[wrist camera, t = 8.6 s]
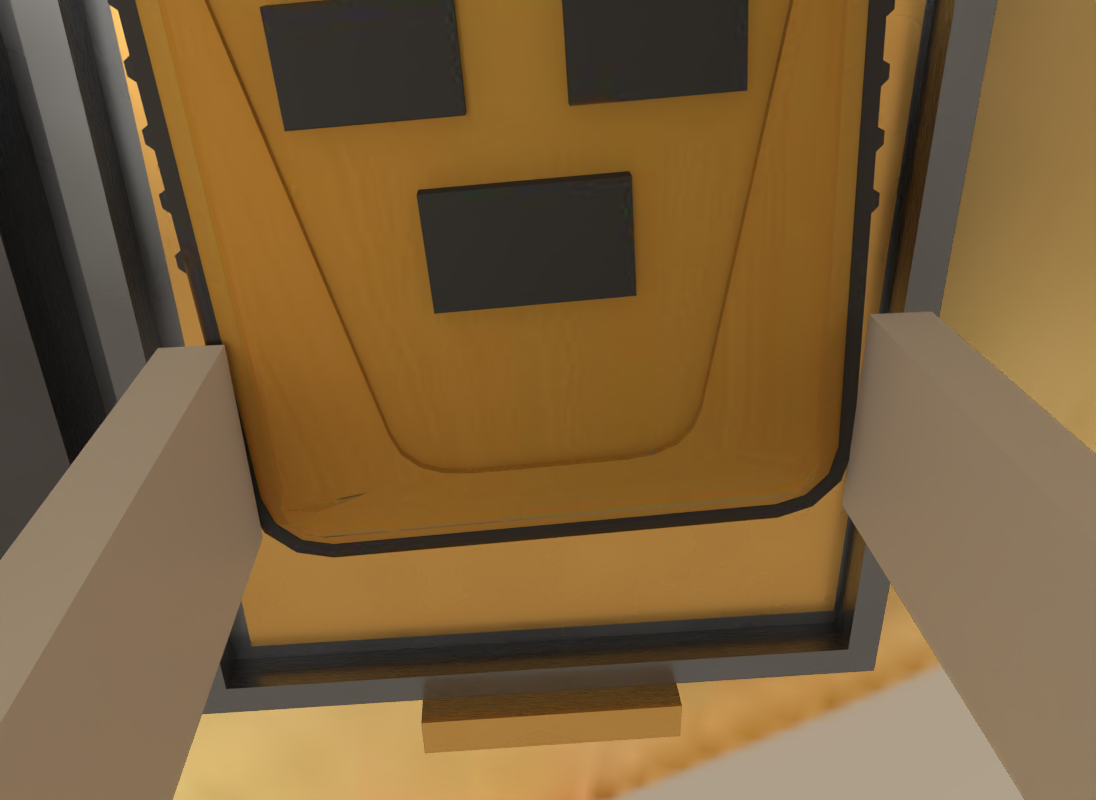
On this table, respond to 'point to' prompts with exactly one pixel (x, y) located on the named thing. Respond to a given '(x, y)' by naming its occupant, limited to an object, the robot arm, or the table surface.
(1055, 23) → the table surface
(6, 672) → the robot arm
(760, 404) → the electronic device
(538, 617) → the grey flat frame
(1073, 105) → the table surface
